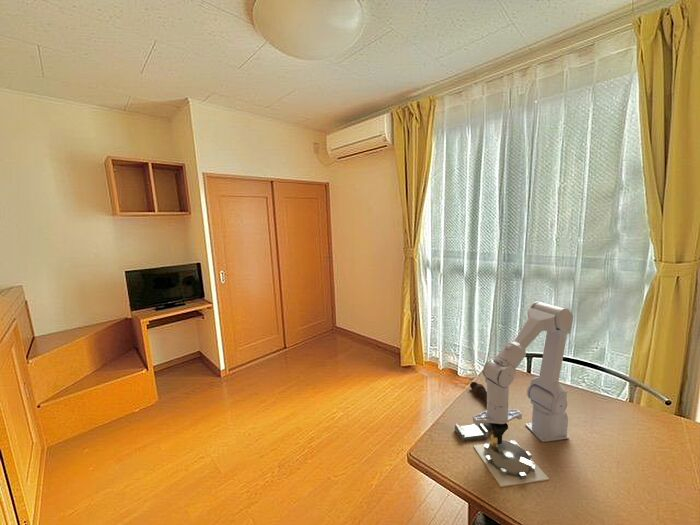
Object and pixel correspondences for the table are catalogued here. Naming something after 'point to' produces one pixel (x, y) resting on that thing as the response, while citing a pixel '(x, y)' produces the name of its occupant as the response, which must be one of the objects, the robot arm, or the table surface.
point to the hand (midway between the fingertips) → (496, 441)
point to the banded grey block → (488, 426)
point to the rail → (471, 432)
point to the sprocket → (509, 458)
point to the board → (509, 479)
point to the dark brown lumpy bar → (479, 390)
